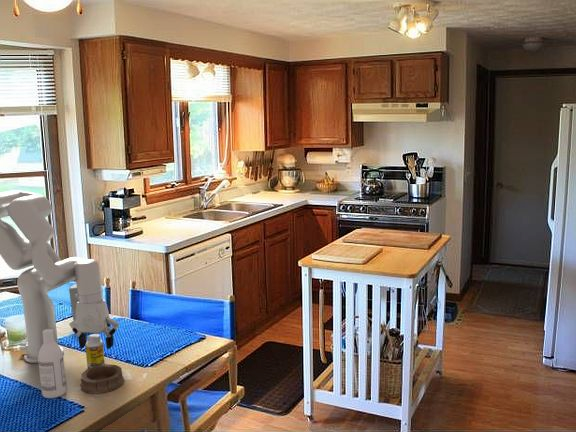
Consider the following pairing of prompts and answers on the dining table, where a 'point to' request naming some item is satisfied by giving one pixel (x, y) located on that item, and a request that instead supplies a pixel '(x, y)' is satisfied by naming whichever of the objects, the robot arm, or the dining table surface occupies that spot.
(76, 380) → the dining table surface
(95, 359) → the supplement bottle
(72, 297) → the skincare box
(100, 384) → the round brown bowl
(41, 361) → the bath foam
